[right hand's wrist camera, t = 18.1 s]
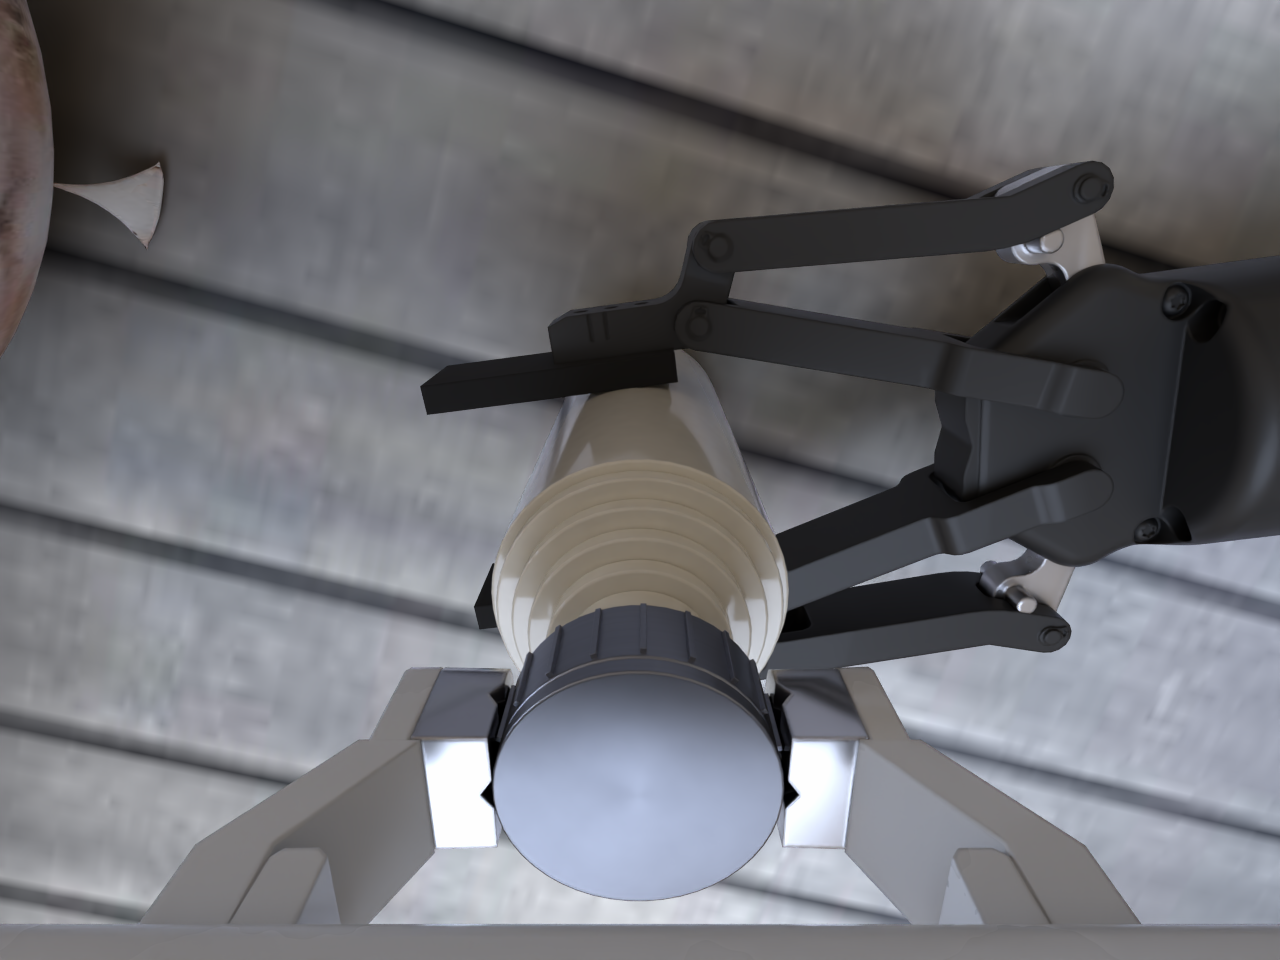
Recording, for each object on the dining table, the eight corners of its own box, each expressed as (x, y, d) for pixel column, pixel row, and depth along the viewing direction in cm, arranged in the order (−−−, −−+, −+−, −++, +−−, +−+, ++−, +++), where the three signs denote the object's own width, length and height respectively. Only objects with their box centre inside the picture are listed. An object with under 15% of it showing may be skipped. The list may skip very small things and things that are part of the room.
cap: (626, 851, 11) (623, 947, 10) (454, 701, 10) (422, 782, 9) (819, 725, 10) (848, 809, 9) (653, 549, 9) (655, 609, 8)
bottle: (590, 317, 25) (482, 516, 8) (740, 366, 26) (926, 647, 9) (548, 461, 27) (387, 864, 10) (688, 504, 28) (758, 953, 11)
